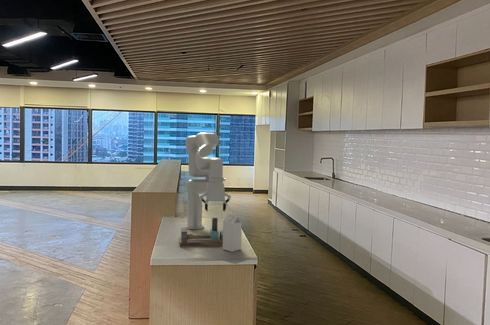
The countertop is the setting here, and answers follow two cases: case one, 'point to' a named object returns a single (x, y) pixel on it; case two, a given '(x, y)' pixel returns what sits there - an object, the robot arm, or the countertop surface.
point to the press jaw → (214, 229)
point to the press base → (199, 239)
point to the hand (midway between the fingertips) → (215, 210)
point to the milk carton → (232, 233)
